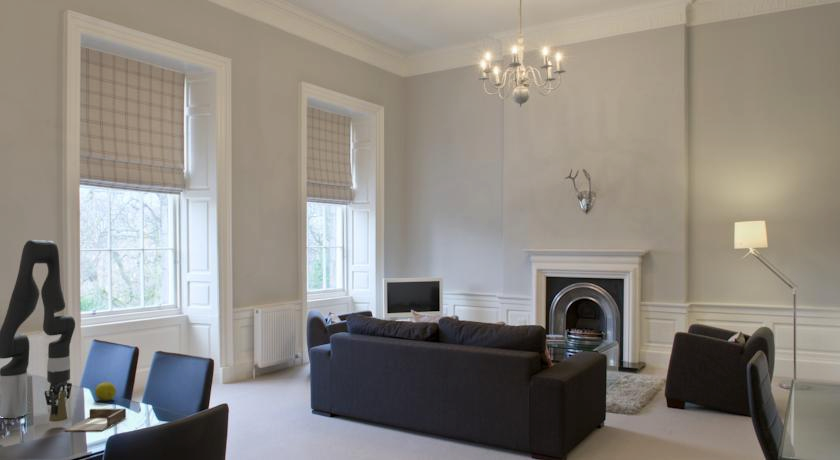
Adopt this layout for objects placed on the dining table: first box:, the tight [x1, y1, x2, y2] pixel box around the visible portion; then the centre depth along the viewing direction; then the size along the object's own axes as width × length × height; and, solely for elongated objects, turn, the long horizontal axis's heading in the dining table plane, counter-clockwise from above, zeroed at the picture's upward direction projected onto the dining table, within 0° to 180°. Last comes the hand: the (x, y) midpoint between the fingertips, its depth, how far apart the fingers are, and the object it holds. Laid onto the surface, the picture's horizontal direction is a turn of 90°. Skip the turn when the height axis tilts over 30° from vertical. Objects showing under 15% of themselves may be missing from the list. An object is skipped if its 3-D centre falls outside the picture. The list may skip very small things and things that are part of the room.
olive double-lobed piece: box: [48, 390, 68, 423], centre depth 235 cm, size 6×6×11 cm
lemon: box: [94, 381, 117, 402], centre depth 274 cm, size 11×8×8 cm
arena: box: [64, 408, 127, 433], centre depth 238 cm, size 14×18×4 cm
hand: (58, 413), depth 235 cm, fingers closed on olive double-lobed piece, 4 cm apart
